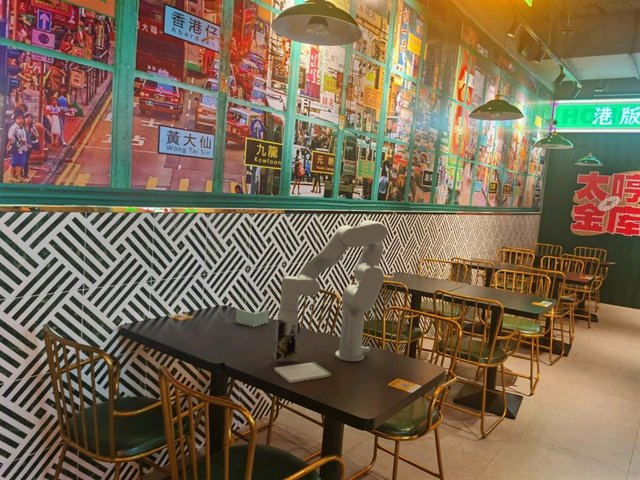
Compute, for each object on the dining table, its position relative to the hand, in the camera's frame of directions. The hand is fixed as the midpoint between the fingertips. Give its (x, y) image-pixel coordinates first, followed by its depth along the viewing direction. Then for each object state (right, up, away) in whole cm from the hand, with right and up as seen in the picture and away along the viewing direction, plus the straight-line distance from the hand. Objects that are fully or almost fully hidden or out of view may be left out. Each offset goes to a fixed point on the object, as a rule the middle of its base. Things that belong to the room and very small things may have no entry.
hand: (286, 347), depth 197 cm
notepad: (+7, -7, -14) cm, 17 cm away
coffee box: (0, -5, 0) cm, 5 cm away
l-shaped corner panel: (-21, +1, +51) cm, 55 cm away
